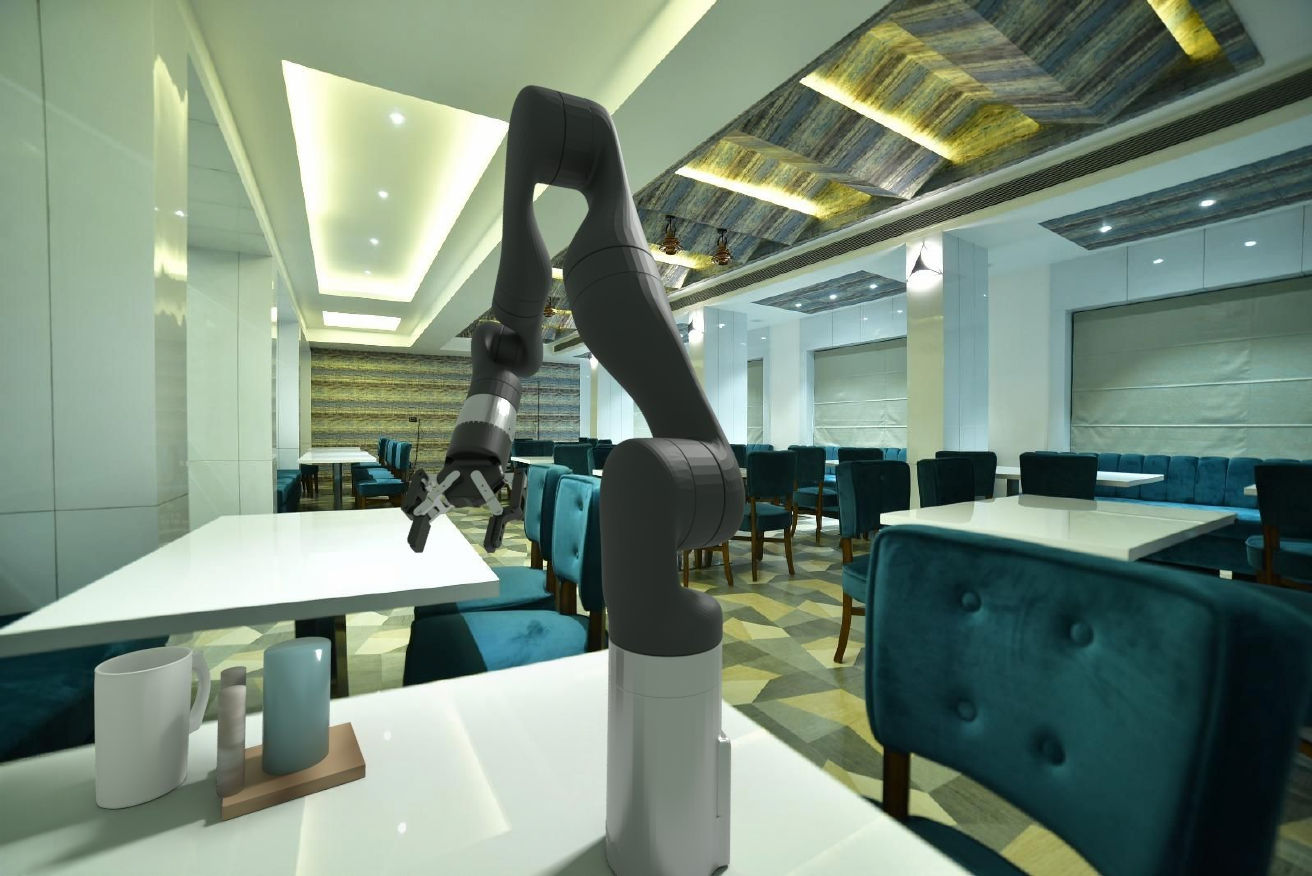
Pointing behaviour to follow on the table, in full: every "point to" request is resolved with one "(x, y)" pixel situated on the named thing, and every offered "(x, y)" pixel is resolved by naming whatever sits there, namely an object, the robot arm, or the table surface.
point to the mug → (146, 722)
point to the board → (243, 767)
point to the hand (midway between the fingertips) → (452, 550)
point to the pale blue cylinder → (295, 705)
